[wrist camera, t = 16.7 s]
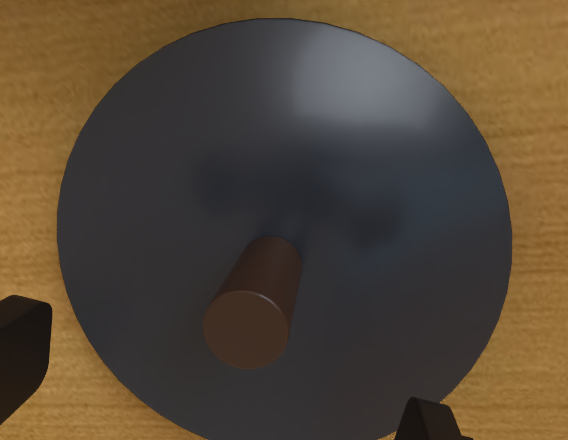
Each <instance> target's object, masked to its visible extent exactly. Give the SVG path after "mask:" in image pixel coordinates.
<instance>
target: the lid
mask: <svg viewBox="0 0 568 440" xmlns="http://www.w3.org/2000/svg"><path fill="white" fill-rule="evenodd" d="M57 244H58V252H59V260H60V268H61V272H62V276H63V280H64V284H65V288H66V291H67V294H68V297H69V300H70V302H71V305H72V307H73V310H74V313H75V315H76V318H77V320H78V321H79V323H80V325H81V327H82V329H83V331H84V333H85V335H86V337H87V338H88V340H89V342H90V343H91V345H92V346H93V348H94V349H95V351H96V352H97V354H98V355H99V356H100V358H101V359H102V361H103V362H104V363H105V365H106V366H107V367H108V368H109V369H110V370H111V371H112V373H113V374H114V375H115V376H116V377H117V378H118V380H119V381H120V382H121V383H122V384H123V385H124V386H125V387H127V388H128V389H129V390H130V391H131V392H132V393H133V394H134V395H135V396H136V397H137V398H138V399H140V400H141V401H142V402H144V403H145V404H146V405H148V406H149V407H150V408H152V409H153V410H154V411H156V412H157V413H158V414H160V415H161V416H163V417H165V418H166V419H168V420H170V421H171V422H173V423H175V424H177V425H178V426H180V427H182V428H184V429H186V430H188V431H190V432H192V433H195V434H197V435H199V436H201V437H204V438H206V439H208V440H377V439H380V438H383V437H385V436H387V435H389V434H391V433H393V432H395V431H397V430H398V427H399V424H400V421H401V418H402V415H403V413H404V410H405V407H406V404H407V402H408V400H409V399H410V398H411V397H416V398H420V399H424V400H428V401H432V402H436V403H439V402H440V401H442V400H443V399H444V398H445V397H446V396H447V395H448V394H449V393H451V392H452V391H453V390H454V389H455V387H456V386H457V385H458V384H459V383H460V382H461V381H462V379H463V378H464V377H465V376H466V375H467V374H468V372H469V371H470V370H471V369H472V367H473V366H474V364H475V363H476V361H477V360H478V358H479V357H480V355H481V353H482V352H483V350H484V349H485V347H486V346H487V344H488V341H489V339H490V337H491V335H492V333H493V331H494V329H495V327H496V324H497V322H498V320H499V317H500V314H501V311H502V307H503V304H504V301H505V298H506V294H507V290H508V283H509V277H510V271H511V264H512V228H511V220H510V213H509V206H508V200H507V196H506V193H505V190H504V186H503V183H502V179H501V176H500V172H499V169H498V167H497V165H496V163H495V161H494V158H493V156H492V154H491V152H490V150H489V148H488V145H487V143H486V141H485V139H484V138H483V136H482V135H481V133H480V132H479V130H478V129H477V127H476V125H475V124H474V122H473V121H472V119H471V118H470V116H469V115H468V113H467V112H466V111H465V110H464V108H463V107H462V106H461V105H460V104H459V103H458V102H457V100H456V99H455V98H454V97H453V96H452V95H451V94H450V92H449V91H448V90H447V89H446V88H445V87H444V86H443V85H442V84H441V83H439V82H438V81H437V80H436V79H435V78H434V77H432V76H431V75H430V74H429V73H428V72H427V71H425V70H424V69H423V68H422V67H421V66H420V65H418V64H417V63H415V62H413V61H412V60H410V59H409V58H407V57H405V56H404V55H402V54H401V53H399V52H398V51H396V50H394V49H393V48H391V47H390V46H387V45H385V44H383V43H381V42H378V41H376V40H374V39H372V38H370V37H367V36H365V35H363V34H361V33H358V32H355V31H352V30H348V29H345V28H341V27H338V26H334V25H331V24H327V23H322V22H315V21H308V20H301V19H293V18H256V19H250V20H243V21H236V22H230V23H224V24H220V25H217V26H214V27H210V28H207V29H204V30H201V31H197V32H194V33H191V34H189V35H187V36H185V37H183V38H181V39H179V40H176V41H174V42H172V43H170V44H168V45H166V46H164V47H162V48H161V49H159V50H158V51H156V52H155V53H153V54H152V55H150V56H149V57H147V58H146V59H144V60H143V61H141V62H140V63H138V64H137V65H136V66H135V67H133V68H132V69H131V70H130V71H129V72H128V73H127V74H126V75H124V76H123V77H122V78H121V79H120V80H119V81H118V82H117V83H116V84H115V85H114V86H113V87H112V88H111V89H110V90H109V92H108V93H107V94H106V95H105V96H104V98H103V99H102V100H101V101H100V102H99V104H98V105H97V106H96V107H95V109H94V110H93V112H92V114H91V115H90V117H89V119H88V120H87V122H86V123H85V125H84V127H83V128H82V130H81V131H80V133H79V136H78V138H77V140H76V143H75V145H74V147H73V149H72V152H71V154H70V156H69V159H68V162H67V166H66V169H65V173H64V176H63V180H62V184H61V189H60V196H59V203H58V210H57Z"/></svg>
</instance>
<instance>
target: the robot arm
mask: <svg viewBox="0 0 568 440" xmlns="http://www.w3.org/2000/svg"><path fill="white" fill-rule="evenodd" d="M51 326H52V307H51V305H50V304H49V303H46V302H42V301H38V300H34V299H30V298H26V297H22V296H18V295H11V296H8V297H6V298H5V299H3V300H1V301H0V425H1V424H2V423H3V422H4V421H5V420H6V419H7V418H8V417H9V416H11V415H12V414H13V413H14V412H15V411H16V410H17V409H18V408H19V407H20V406H21V405H22V404H23V403H24V402H25V401H26V400H27V399H28V398H30V397H31V396H32V395H33V394H34V393H35V392H36V390H37V389H38V388H39V386H40V385H41V383H42V381H43V379H44V377H45V375H46V372H47V369H48V364H49V352H50V339H51ZM394 440H473V438H470V437H466V436H462V435H461V433H460V430H459V428H458V425H457V423H456V420H455V418H454V415H453V413H452V411H451V409H450V407H449V406H447V405H444V404H440V403H436V402H432V401H428V400H424V399H420V398H416V397H411V398H410V399H409V400H408V402H407V404H406V407H405V410H404V413H403V415H402V418H401V421H400V424H399V427H398V430H397V433H396V436H395V439H394Z"/></svg>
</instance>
